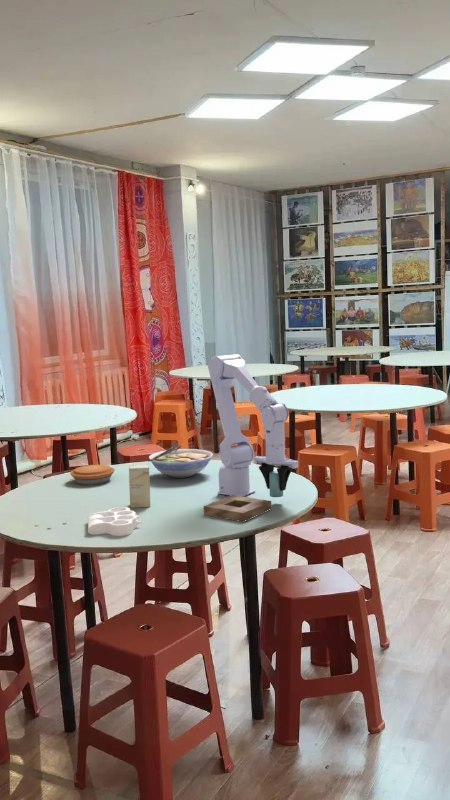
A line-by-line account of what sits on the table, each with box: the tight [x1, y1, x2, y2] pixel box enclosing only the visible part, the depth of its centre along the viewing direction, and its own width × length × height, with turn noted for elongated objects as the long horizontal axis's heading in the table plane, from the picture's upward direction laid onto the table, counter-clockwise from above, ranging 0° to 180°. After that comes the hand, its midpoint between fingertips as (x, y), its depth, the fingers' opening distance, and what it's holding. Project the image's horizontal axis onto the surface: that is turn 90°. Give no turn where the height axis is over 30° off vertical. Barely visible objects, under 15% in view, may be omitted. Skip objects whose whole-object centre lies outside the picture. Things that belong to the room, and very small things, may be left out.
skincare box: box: [128, 464, 151, 509], centre depth 218 cm, size 6×4×12 cm
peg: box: [269, 470, 284, 498], centre depth 214 cm, size 4×4×7 cm
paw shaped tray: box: [87, 506, 142, 537], centre depth 198 cm, size 3×18×15 cm
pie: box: [69, 464, 116, 486], centre depth 252 cm, size 15×16×5 cm
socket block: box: [203, 495, 273, 522], centre depth 208 cm, size 14×14×2 cm
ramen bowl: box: [148, 445, 214, 479], centre depth 255 cm, size 25×23×8 cm
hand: (276, 489), depth 214 cm, fingers closed on peg, 4 cm apart
